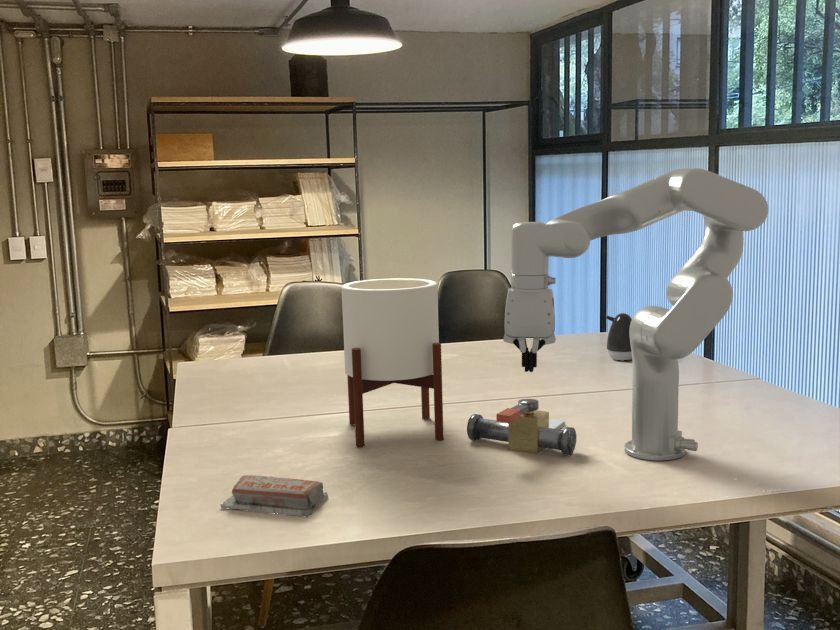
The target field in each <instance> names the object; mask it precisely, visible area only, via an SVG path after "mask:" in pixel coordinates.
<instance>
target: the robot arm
mask: <svg viewBox="0 0 840 630" xmlns="http://www.w3.org/2000/svg"><path fill="white" fill-rule="evenodd" d="M766 199H767V198H766V197H765V196H764V195H763V194H762V193H760V192H759V191H758V190H756V189H755V188H752V187H750V186H747V185H745V184H742V183H740V182H737V181H735V180H733V179H730V178H727V177H724V176H722V175H720V174H718V173H715V172H713V171H709V170H707V169H703V168H698V167H697V168H696V167H695V168H693V167H691V168H677V169H675V170H671V171H668V172H666V173H663V174H662V175H660V176H656V177H654V178H652V179H650V180H648V181H645V182H643V183H641V184H639V185H636V186H633V187H631V188H629V189H626V190H624V191H622V192H619V193H616V194H613V195H609V196H607V197H606V198H603V199H601V200H598V201H595V202H592V203H589V204H587V205H583V206H581V207H578V208H576V209H573V210H571V211H569V212H567V213H564V214H562V215H560V216H557V217H555V218H553V219H550V220H549V221H548V222H547V223H545V222H541V221H520V222H516V223H514V224H513V225H512V227H511V262H510V263H511V266H510V267H511V268H510V270H511V273H510V274H511V275H510V276H511V282H510V284H511V286H510V287H509V288H508V289H507V294H506V301H505V309H504V328H503V329H504V335H503V342H505V343H507V344H512V345H514V346H515V347H516V348H517V349H519V352H521V368H524V372H525V373H528V372H530V373H533V371H535V369H534V368H537V367H538V351H539V350H541V349H542V348H543V347H544V346H546V345H552V344H555V343H556V339H557V338H556V335H555V329H556V317H555V316H556V315H555V314H556V313H555V312H556V311H555V309H556V308H555V300H554V299H555V297H554V293H553V289H552V288H549V286H551V285H555V284H556V280H557V278H556V277H552V276H550V274H549V258H550V257H555V258H563V259H575V258H579V257H581V256H582V255H584V254H585V253H586V252H587V251H588V249H589V247H590V245H591V241H593V240H596V239H599V238H604V237H607V236H612V235H614V236H615V235H622V234H629V233H632V232H636V231H639V230H642V229H645V228H647V227H648V226H651V225H653V224H656V223H658V222H661V221H662V220H665V219H667V218H670V217H672V216H674V215H677V214H679V213H682V212H684V211H691V212H695V213H697V214H700V215H702V216H703V220H704V236H703V239H702V240H701V241H702V242H701V243H700V245H699V246H698V248H696V250H695V252H694V253H693V254H692V255H691V256H689V257H690V258H688V260H687V261H686V262H685V263H684V264H683V265H682V266H681V268H680V269H679V270H677V272H676V274H674V275H673V277H672V278H671V279H670V280H669V282H668V284H667V287H666V293H665V294H666V298H667V301H668V302H669V303H670V304H671V305H672V307H671V308H670V309H669V308H666V307H663V306H658V305H649V306H648V305H647V306H645V307H642V308H641V309H639V310H638V311H636V313H635V314H634V316H633V317H631V319H632V320H631V323H630V329H629V336H630V344H631V351H632V361H631V362H632V382H631V383H632V385H631V386H632V395H631V397H632V401H631V404H632V408H631V418H632V419H631V440H629V441H627V442H626V443H624V452H625V453H626V454H627V455H629V456H631V457H634V458H637V459H639V460H646V461H647V460H648V461H671V460H676V459H679V458H681V457H683V456H685V454H686V450H687V451H691V452H697V451H698V447H699V444H698V442H697V441H696V440H695V439H694V438H693V439H692V438H684V436H682V435H683V431H682V430H679V391H680V389H679V386H680V385H679V384H680V368H679V365H680V364H679V360H682V359H684V358H686V357H688V356H690V355H691V354H692V353H693V352H694V351H696V349H697V348H698V347H699V346H700V345H701V344H702V343H703V341H704V340H705V339H706V338H707V337H708V336H709V334H710V333H711V332H712V331H713V330H714V329H715V327H716V326H718V325H719V323H720V322H721V320H722V319H723V318H724V317H725V315H726V314H727V313H728V312H729V309H730V308H731V305H732V302H733V296H734V295H733V294H734V292H733V287H732V285H731V282H730V280H728V278H729V277H730V275H731V273H732V272H733V271H734V270H735V268H736V267H737V265H738V264H739V263H740V260H741V258H742V255H743V252H744V242H745V241H744V232H751V231H754V230H756V229H758V228H759V227H761V226H762V225H763V224H764V222H765V221H766V219H767V218H768V215H769V204H768V201H767V200H766ZM527 339H532V345H531V348H530V351H529V347H528V343H527Z"/></svg>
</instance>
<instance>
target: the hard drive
mask: <svg viewBox="0 0 840 630" xmlns="http://www.w3.org/2000/svg"><path fill="white" fill-rule="evenodd" d="M565 425H566V422H565V420H559V419H553V418H552V419H551V418H549V428H553V429H560V430H561V429H562V428H563V427H565Z"/></svg>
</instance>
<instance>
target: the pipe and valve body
mask: <svg viewBox="0 0 840 630" xmlns="http://www.w3.org/2000/svg"><path fill="white" fill-rule="evenodd" d="M549 413H550V412H549V411H544V410H539V409H538V410H535V411H527V412H526V413H524V414H522V415H521V417H520V418H518V419H516V420H514V421H513V422H511V423H504V422H497V419H496V420H494V419H488V418H483V415H481V414H480V413H479V414H478V413H473V414H472V415H470V416H469V419H468V421H467V427H466V434H467V438H468V439H469V440H471V441H476V442H477V441H479V440H480V439H484V440H485V439H487V440H492V441H499V442H505V443H508V451H516V452H520V453H521V452H522V453H526V454H534V455H539V454H540V453H542V452H544V451H545V450H546V449H551V450H558V451H561V454H562V455H563V456H572V455H573V453H574V452H575V449H576V447H577V446H576V445H577V431H576V428H574V427H572V426H564V428H563V429H561V428H560V429H553V428H549V419H550V414H549Z"/></svg>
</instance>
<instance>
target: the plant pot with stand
mask: <svg viewBox="0 0 840 630" xmlns="http://www.w3.org/2000/svg"><path fill="white" fill-rule="evenodd" d="M438 289H439V288H438V283H437V282H436V281H435V280H431V279H427V278H426V279H425V278H410V277H409V278H407V277H406V278H405V277H404V278H402V277H401V278H400V277H399V278H398V277H396V278H375V279H364V280H356V281H352V282H351V281H350V282H347V283H344V284H343V285H342V286H341V305H342V307H341V308H342V330H343V351H344V352H343V353H344V372H345V375H347V378H346V379H347V397H348V400H347V401H348V415H349V416H348V420H349V422H348V423H349V425H350V424H355V425H354V433H355V434H354V435H355V447H356V446H357V447H356V448H364V447H365V445H366V444H365V443H366V442H365V424H364V423H365V422H364V421H365V420H364V419H365V418H364V401H363V399H364V398H363V397H364V394H366V393H369V392H372V391H375V390H378V389H380V388H384V387H386V386H389V385H391V384H392V385H393V384H396V385H397V384H399V385H404V386H405V385H406V386H412V387H418V388H419V387H420V395H421V399H420V400H421V419H422V420H430V419H431V415H430V414H431V413H430V411H431V410H430V389H433V407H434V409H433V410H434V411H433V412H434V440H435V441H439V442H440V441H444V409H443V406H444V404H443V371H442V369H443V367H442V366H443V365H442V363H443V362H442V342H440V338H439V337H440V336H439V335H440V331H439V328H440V326H439V299H438V298H439V297H438V295H439V294H438V292H439V291H438ZM363 446H364V447H363Z"/></svg>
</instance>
